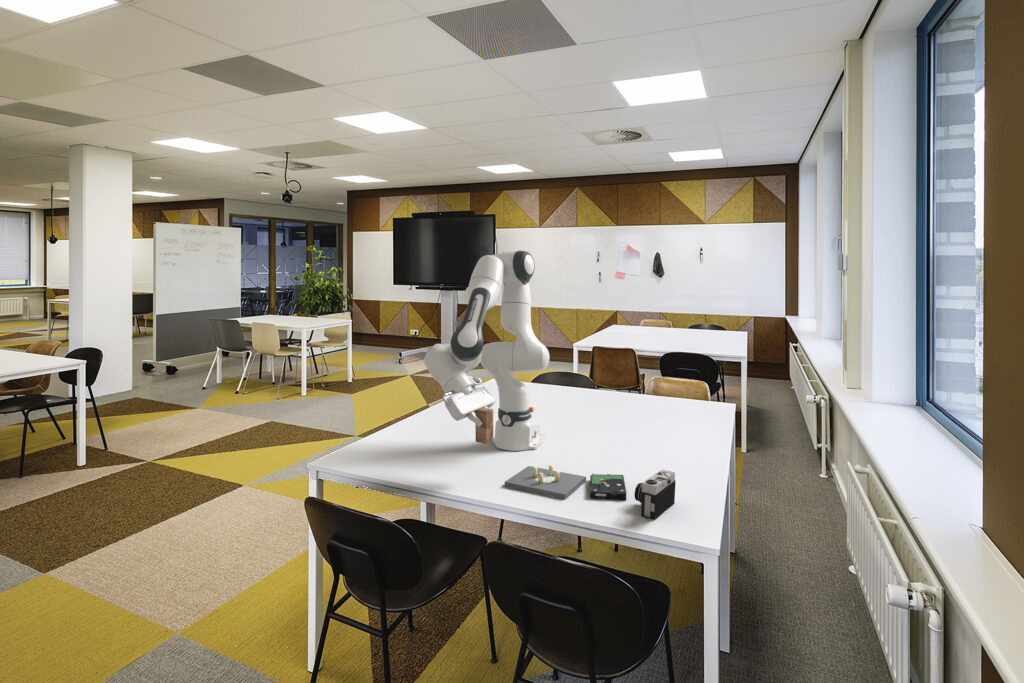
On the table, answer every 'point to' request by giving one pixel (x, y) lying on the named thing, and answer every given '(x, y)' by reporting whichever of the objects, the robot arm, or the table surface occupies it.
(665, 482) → the camera
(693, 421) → the table surface
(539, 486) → the standoff plate
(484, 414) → the walnut block
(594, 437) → the table surface
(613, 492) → the disk drive
